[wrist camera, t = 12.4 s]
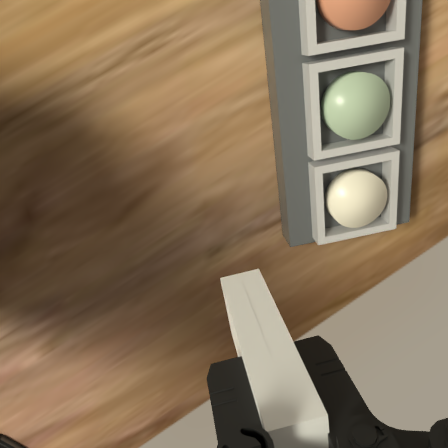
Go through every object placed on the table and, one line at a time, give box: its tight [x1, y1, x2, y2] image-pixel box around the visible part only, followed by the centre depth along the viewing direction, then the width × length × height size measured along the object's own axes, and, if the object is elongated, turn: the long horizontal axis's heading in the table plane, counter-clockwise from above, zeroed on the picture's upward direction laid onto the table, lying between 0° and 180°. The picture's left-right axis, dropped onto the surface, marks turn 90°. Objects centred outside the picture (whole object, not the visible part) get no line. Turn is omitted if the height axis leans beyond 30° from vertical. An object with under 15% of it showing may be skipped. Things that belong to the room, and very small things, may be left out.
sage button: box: [321, 71, 390, 140], centre depth 38 cm, size 6×6×2 cm
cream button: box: [325, 168, 387, 228], centre depth 42 cm, size 6×6×2 cm
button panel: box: [260, 0, 422, 247], centre depth 40 cm, size 14×29×5 cm, turn 9°
